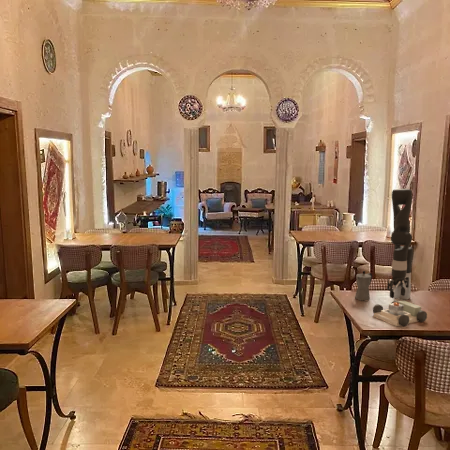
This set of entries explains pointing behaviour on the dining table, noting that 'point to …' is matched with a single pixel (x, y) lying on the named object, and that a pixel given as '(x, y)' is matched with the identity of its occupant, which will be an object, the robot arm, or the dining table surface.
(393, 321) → the chassis
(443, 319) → the dining table surface
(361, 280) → the coffeepot
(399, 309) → the cube with copper knob
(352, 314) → the dining table surface
